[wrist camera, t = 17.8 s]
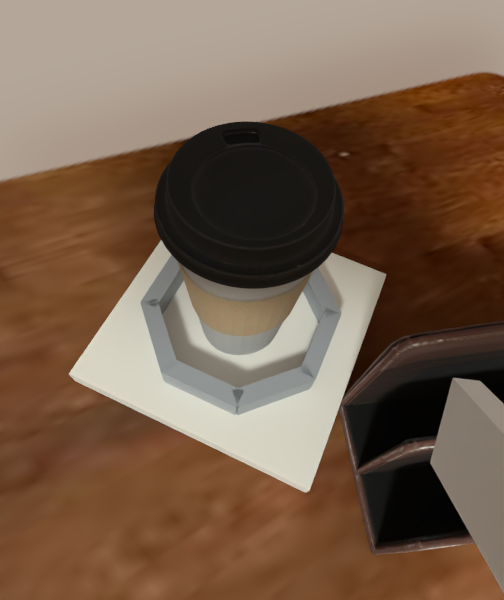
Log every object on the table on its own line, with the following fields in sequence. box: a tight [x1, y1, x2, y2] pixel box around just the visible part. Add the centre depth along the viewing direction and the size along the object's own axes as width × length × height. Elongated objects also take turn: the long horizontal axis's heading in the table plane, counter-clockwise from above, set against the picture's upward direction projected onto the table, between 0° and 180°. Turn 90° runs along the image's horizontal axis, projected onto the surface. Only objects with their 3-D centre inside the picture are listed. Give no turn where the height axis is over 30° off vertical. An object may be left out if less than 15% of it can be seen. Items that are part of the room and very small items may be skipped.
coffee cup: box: [154, 122, 343, 355], centre depth 27 cm, size 9×9×15 cm
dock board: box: [69, 240, 387, 493], centre depth 34 cm, size 18×18×4 cm
